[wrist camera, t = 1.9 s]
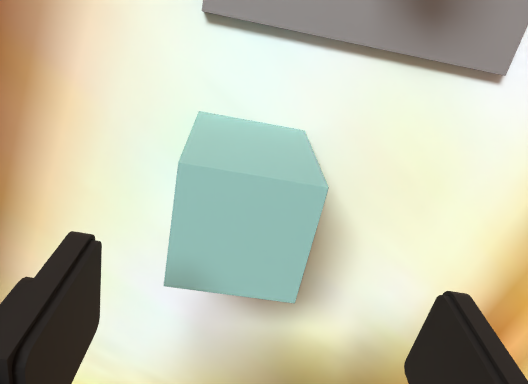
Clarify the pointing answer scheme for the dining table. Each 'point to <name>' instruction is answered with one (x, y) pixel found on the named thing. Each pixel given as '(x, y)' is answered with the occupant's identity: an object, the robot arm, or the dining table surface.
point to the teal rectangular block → (244, 209)
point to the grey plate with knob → (401, 25)
